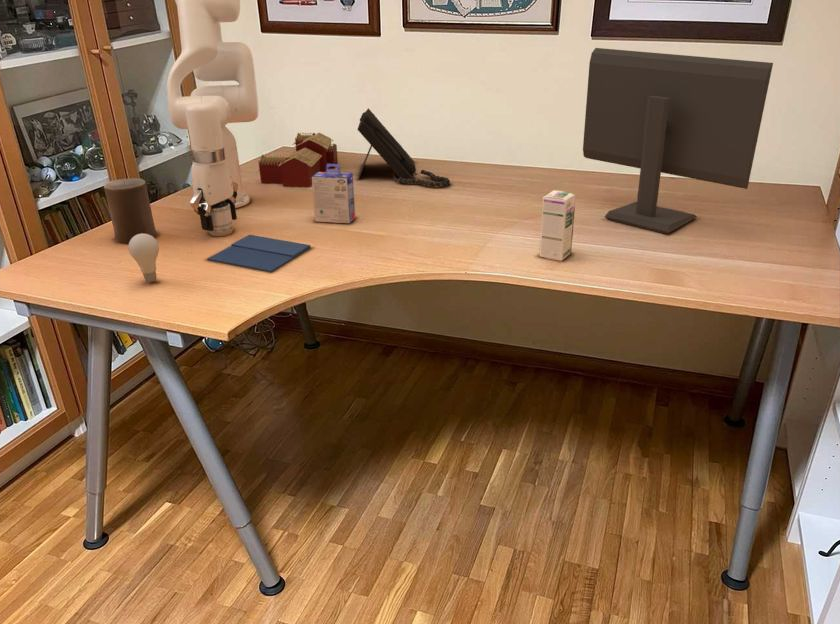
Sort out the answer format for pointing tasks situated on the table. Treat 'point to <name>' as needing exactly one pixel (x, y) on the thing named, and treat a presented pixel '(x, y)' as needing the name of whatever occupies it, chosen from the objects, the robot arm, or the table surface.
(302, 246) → the cloth
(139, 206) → the pillar candle
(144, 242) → the lightbulb
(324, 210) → the ink cartridge box
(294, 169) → the toy houses
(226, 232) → the camera lens
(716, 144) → the computer monitor
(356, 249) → the table surface
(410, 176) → the office phone
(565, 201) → the syrup box
